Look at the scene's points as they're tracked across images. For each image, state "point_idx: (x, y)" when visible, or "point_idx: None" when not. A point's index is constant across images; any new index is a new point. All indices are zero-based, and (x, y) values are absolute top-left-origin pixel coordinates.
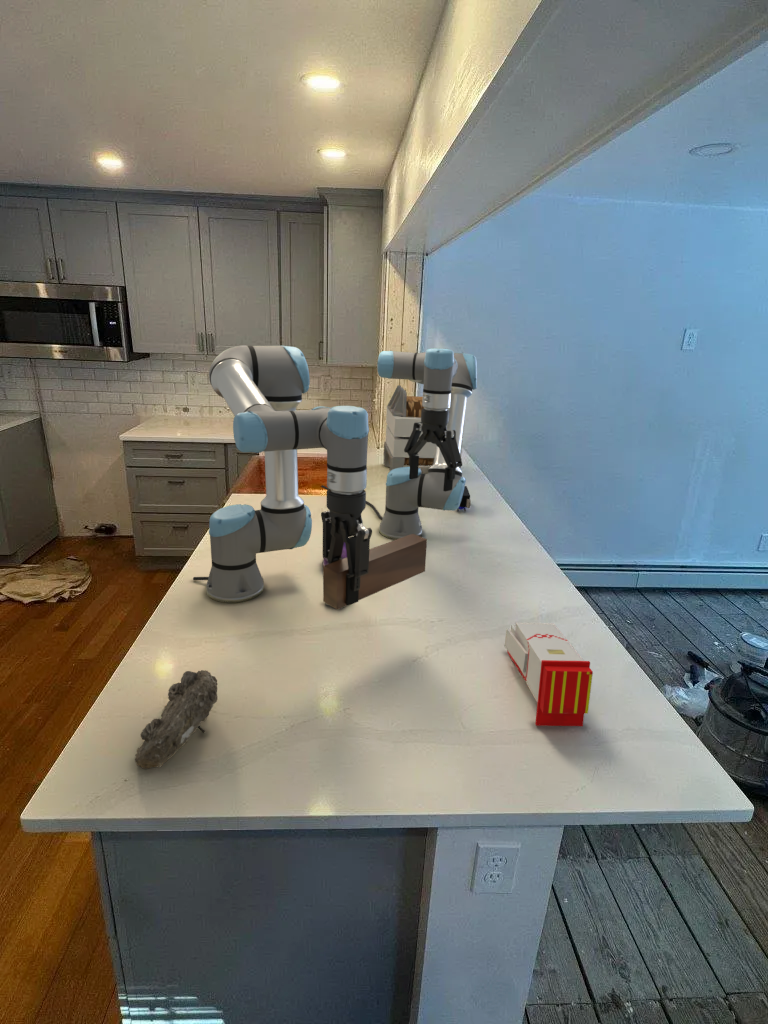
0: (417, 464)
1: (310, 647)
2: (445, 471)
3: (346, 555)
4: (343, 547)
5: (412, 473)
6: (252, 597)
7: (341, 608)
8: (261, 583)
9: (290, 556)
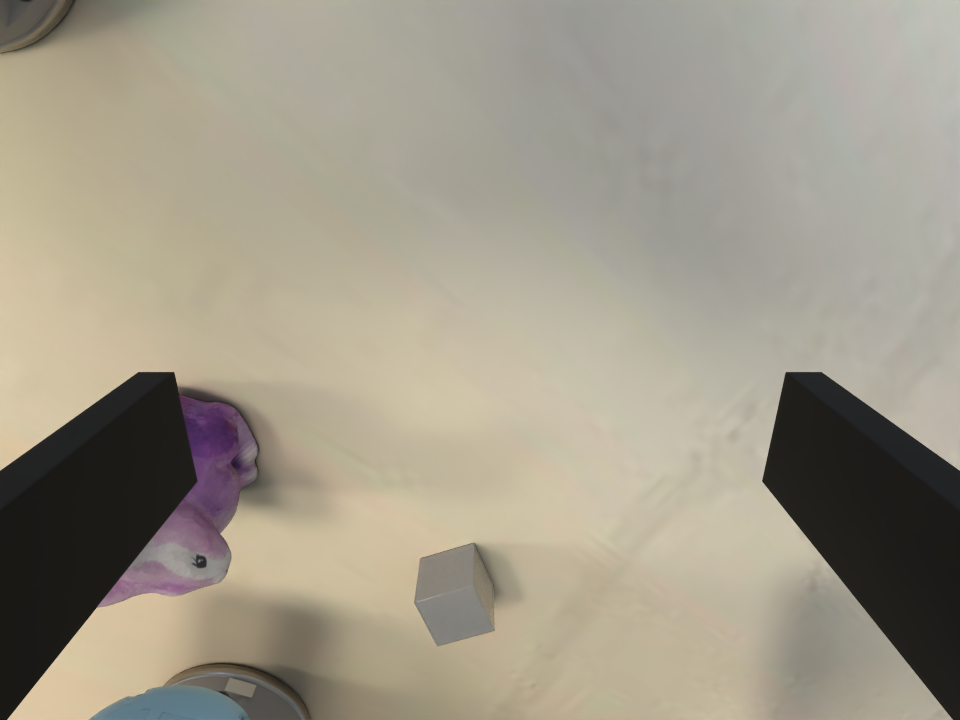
0: (41, 507)
1: (592, 711)
2: (956, 705)
3: (227, 448)
4: (198, 470)
5: (153, 508)
6: (306, 715)
7: (491, 582)
8: (272, 706)
9: None
